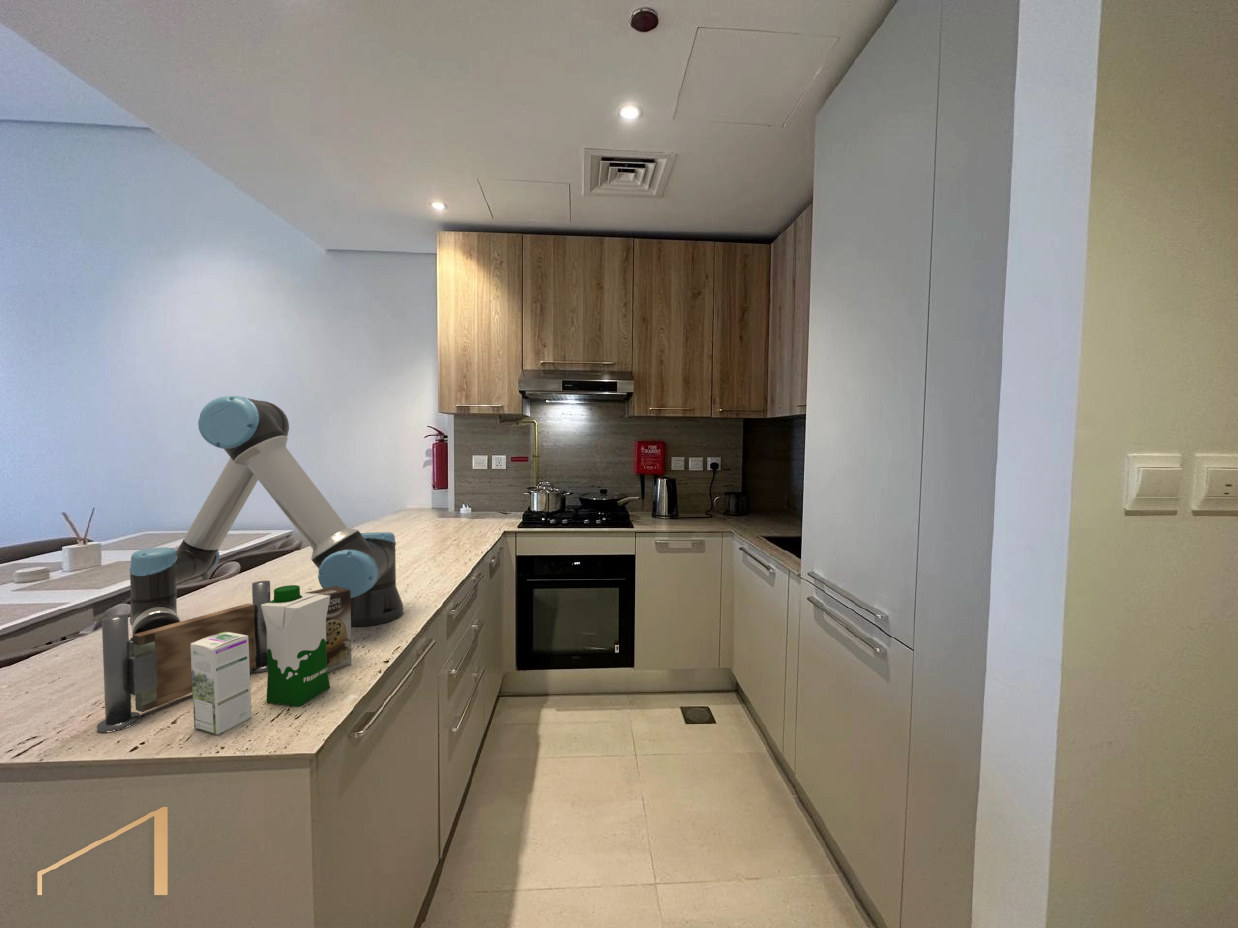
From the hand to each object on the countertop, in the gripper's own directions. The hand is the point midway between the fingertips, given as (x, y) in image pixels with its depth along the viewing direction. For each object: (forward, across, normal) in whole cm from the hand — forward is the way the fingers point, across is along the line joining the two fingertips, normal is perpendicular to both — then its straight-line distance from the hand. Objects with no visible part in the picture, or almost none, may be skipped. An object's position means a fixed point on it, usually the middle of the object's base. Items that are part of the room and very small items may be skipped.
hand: (166, 664), depth 87 cm
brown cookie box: (+5, -24, -7) cm, 25 cm away
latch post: (+4, +6, -7) cm, 10 cm away
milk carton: (+14, -17, -7) cm, 23 cm away
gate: (0, -5, -6) cm, 8 cm away
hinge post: (-4, -15, -7) cm, 17 cm away
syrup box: (+16, -6, -7) cm, 18 cm away
